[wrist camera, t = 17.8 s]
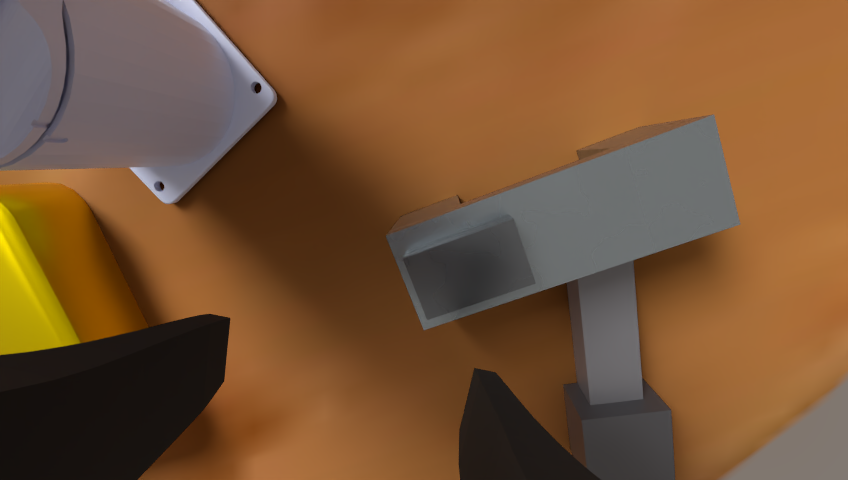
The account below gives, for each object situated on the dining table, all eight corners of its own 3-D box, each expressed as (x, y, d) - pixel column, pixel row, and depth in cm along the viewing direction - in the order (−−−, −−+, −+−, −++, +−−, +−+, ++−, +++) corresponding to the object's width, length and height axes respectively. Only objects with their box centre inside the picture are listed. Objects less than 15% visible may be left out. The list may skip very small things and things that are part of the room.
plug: (548, 259, 20) (566, 276, 17) (630, 247, 20) (662, 262, 17) (572, 464, 22) (591, 510, 19) (645, 456, 22) (676, 502, 19)
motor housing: (400, 216, 20) (380, 242, 14) (639, 126, 18) (739, 109, 12) (429, 288, 21) (422, 344, 14) (661, 207, 19) (767, 230, 13)
